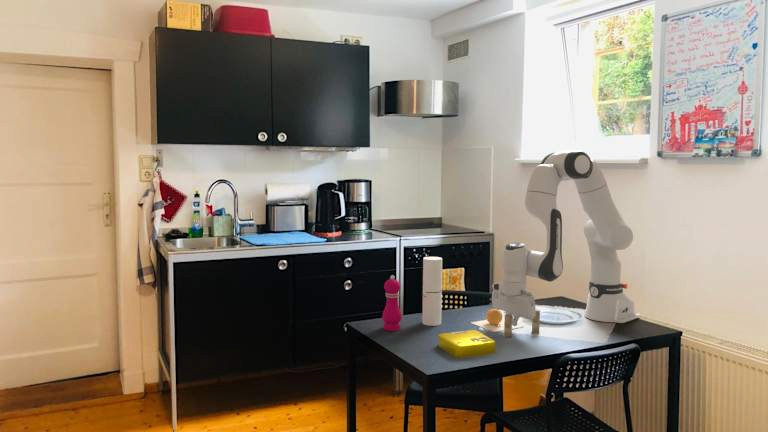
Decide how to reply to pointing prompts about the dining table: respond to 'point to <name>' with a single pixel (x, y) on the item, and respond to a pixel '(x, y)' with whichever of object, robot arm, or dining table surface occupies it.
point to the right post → (536, 322)
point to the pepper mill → (392, 305)
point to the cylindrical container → (432, 291)
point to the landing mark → (491, 327)
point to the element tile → (466, 343)
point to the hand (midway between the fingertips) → (512, 325)
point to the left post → (508, 326)
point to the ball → (494, 316)
